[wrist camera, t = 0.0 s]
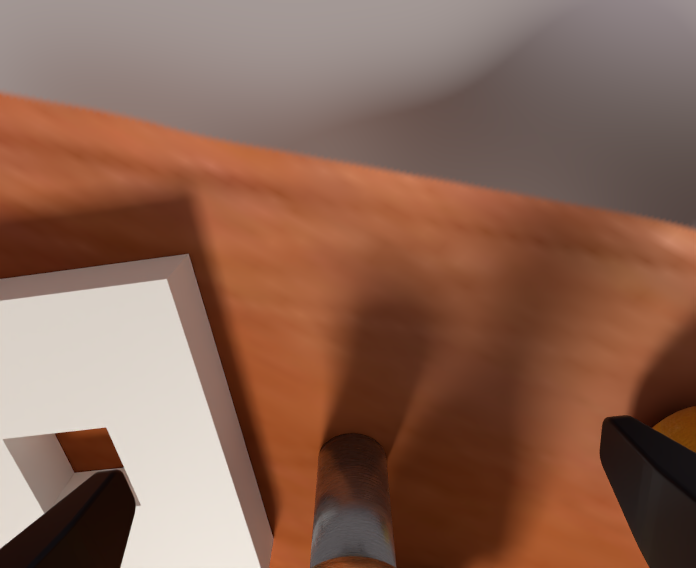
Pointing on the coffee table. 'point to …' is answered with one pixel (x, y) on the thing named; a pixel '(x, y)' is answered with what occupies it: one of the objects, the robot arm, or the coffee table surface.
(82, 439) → the coffee table surface
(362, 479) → the metal pin
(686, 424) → the fruit
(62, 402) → the hole plate
